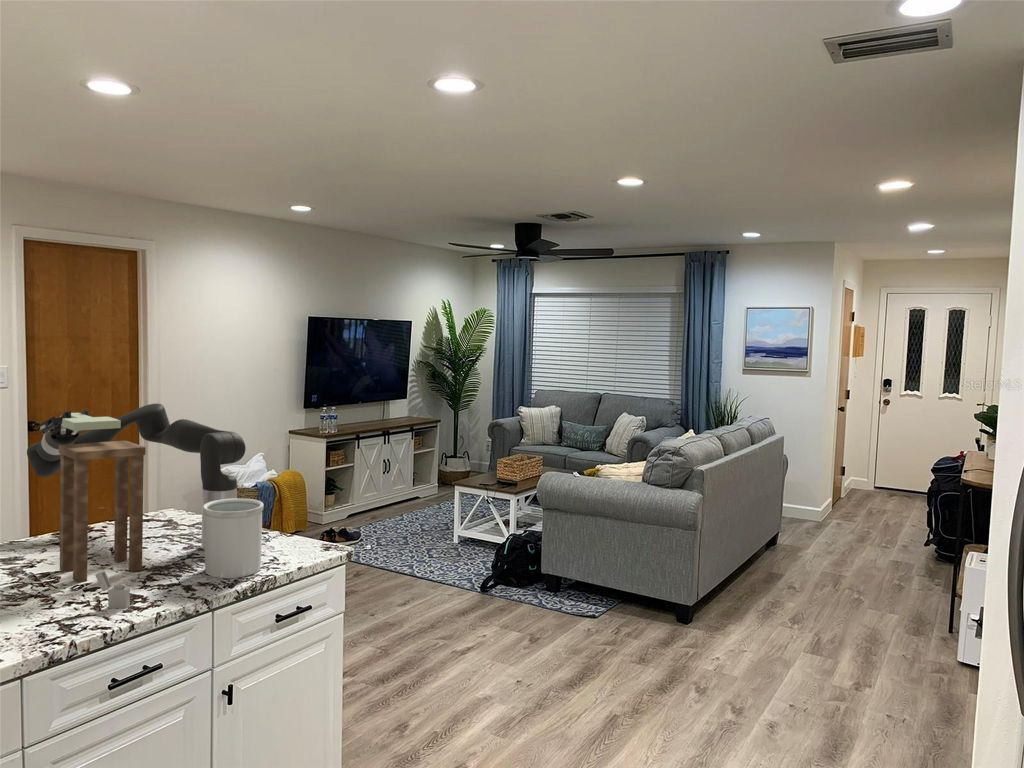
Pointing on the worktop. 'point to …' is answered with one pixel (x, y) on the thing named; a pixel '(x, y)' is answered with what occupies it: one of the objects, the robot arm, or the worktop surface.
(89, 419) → the green block
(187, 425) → the robot arm
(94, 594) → the worktop surface
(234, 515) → the utensil holder
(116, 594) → the lighter
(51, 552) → the worktop surface
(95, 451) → the stool
